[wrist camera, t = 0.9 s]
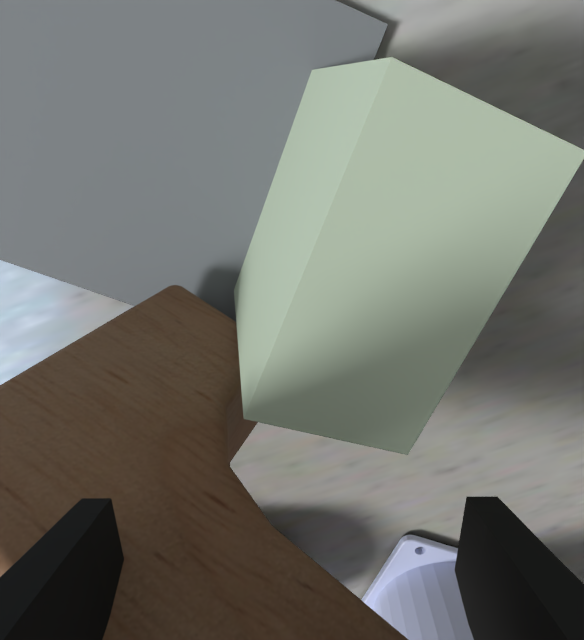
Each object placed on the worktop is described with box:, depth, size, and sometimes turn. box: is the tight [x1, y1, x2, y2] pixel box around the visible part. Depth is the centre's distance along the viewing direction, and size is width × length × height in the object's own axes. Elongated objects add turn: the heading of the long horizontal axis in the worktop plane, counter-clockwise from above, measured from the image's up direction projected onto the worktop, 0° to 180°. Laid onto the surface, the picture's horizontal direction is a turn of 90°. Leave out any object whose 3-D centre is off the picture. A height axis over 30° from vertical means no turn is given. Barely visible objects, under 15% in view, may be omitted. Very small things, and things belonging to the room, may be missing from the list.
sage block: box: [234, 57, 584, 455], centre depth 14 cm, size 4×8×8 cm, turn 159°
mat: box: [0, 0, 388, 322], centre depth 16 cm, size 14×12×1 cm
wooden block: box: [0, 285, 408, 640], centre depth 12 cm, size 9×4×18 cm
